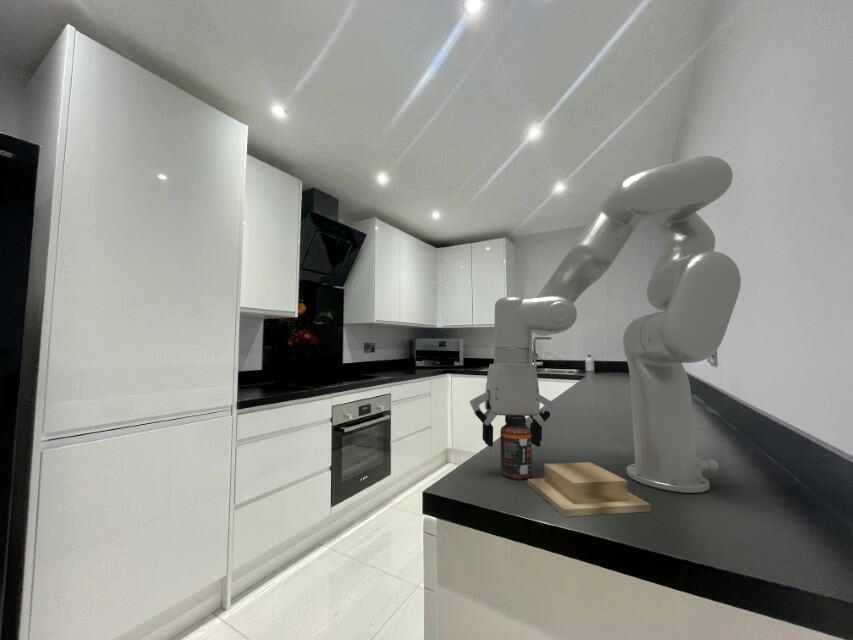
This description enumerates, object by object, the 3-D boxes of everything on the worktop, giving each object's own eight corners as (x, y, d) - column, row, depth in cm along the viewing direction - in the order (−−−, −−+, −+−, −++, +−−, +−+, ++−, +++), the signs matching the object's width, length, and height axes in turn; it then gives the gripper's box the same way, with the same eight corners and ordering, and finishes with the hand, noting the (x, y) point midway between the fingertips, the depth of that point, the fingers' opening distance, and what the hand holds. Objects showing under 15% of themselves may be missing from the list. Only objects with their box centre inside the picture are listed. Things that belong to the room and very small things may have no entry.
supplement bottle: (534, 482, 61) (532, 419, 62) (501, 479, 62) (500, 417, 63) (530, 471, 66) (529, 414, 68) (500, 468, 68) (499, 412, 69)
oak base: (599, 481, 61) (597, 459, 62) (651, 511, 49) (649, 483, 50) (527, 484, 59) (527, 461, 60) (564, 516, 47) (563, 487, 48)
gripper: (543, 359, 72) (544, 440, 70) (466, 356, 69) (464, 439, 67) (562, 359, 64) (563, 450, 62) (476, 356, 62) (475, 450, 60)
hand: (512, 444), depth 65 cm, fingers open, 9 cm apart
